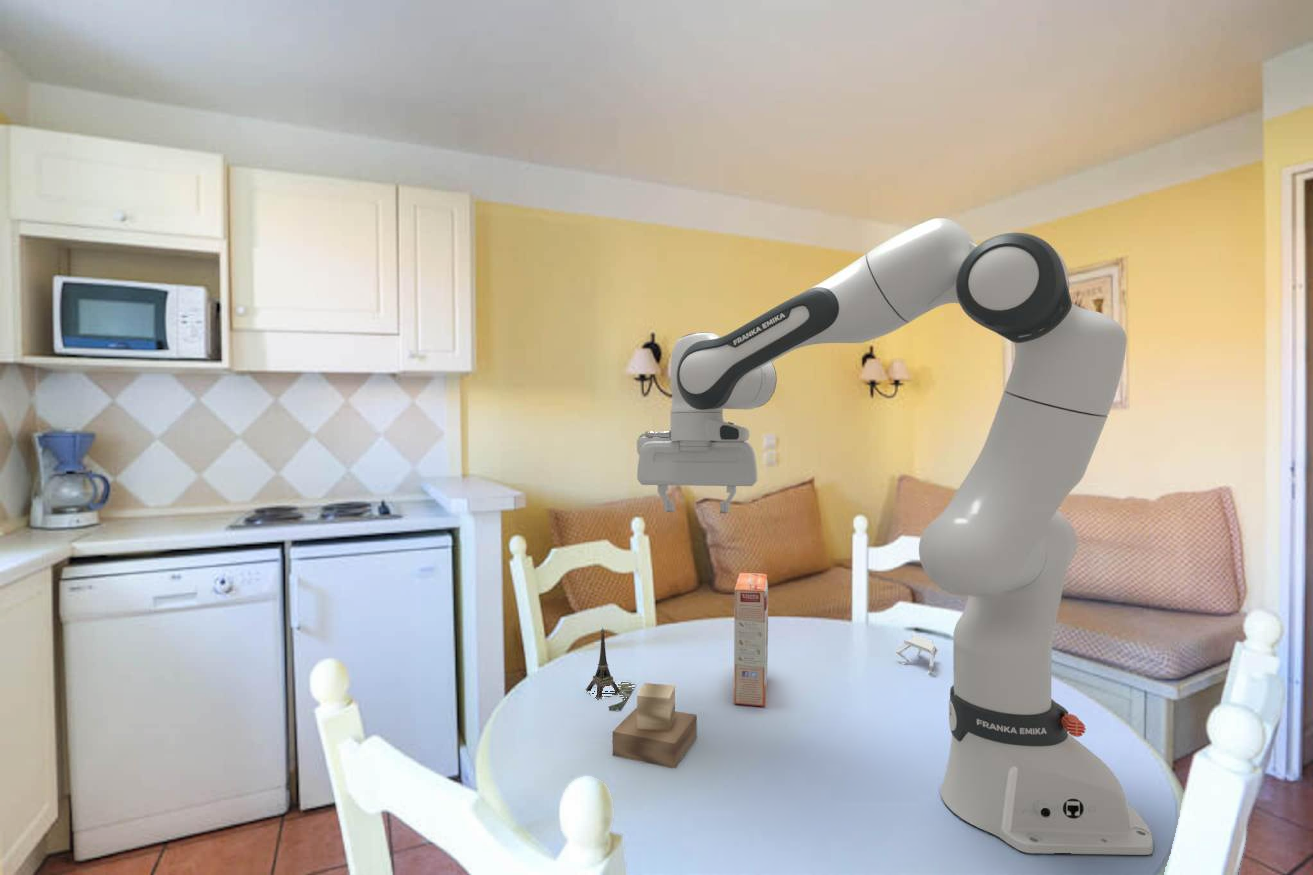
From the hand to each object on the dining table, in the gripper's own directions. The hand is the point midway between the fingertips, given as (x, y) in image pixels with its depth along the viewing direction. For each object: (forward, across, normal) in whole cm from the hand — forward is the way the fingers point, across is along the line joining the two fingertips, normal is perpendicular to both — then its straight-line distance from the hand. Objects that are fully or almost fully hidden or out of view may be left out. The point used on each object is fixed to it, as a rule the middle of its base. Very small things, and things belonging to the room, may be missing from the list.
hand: (696, 512), depth 105 cm
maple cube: (+32, -5, -10) cm, 33 cm away
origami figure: (+35, +41, +34) cm, 64 cm away
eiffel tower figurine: (+36, -19, +8) cm, 41 cm away
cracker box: (+35, +8, +14) cm, 39 cm away
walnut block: (+36, -5, -10) cm, 37 cm away
